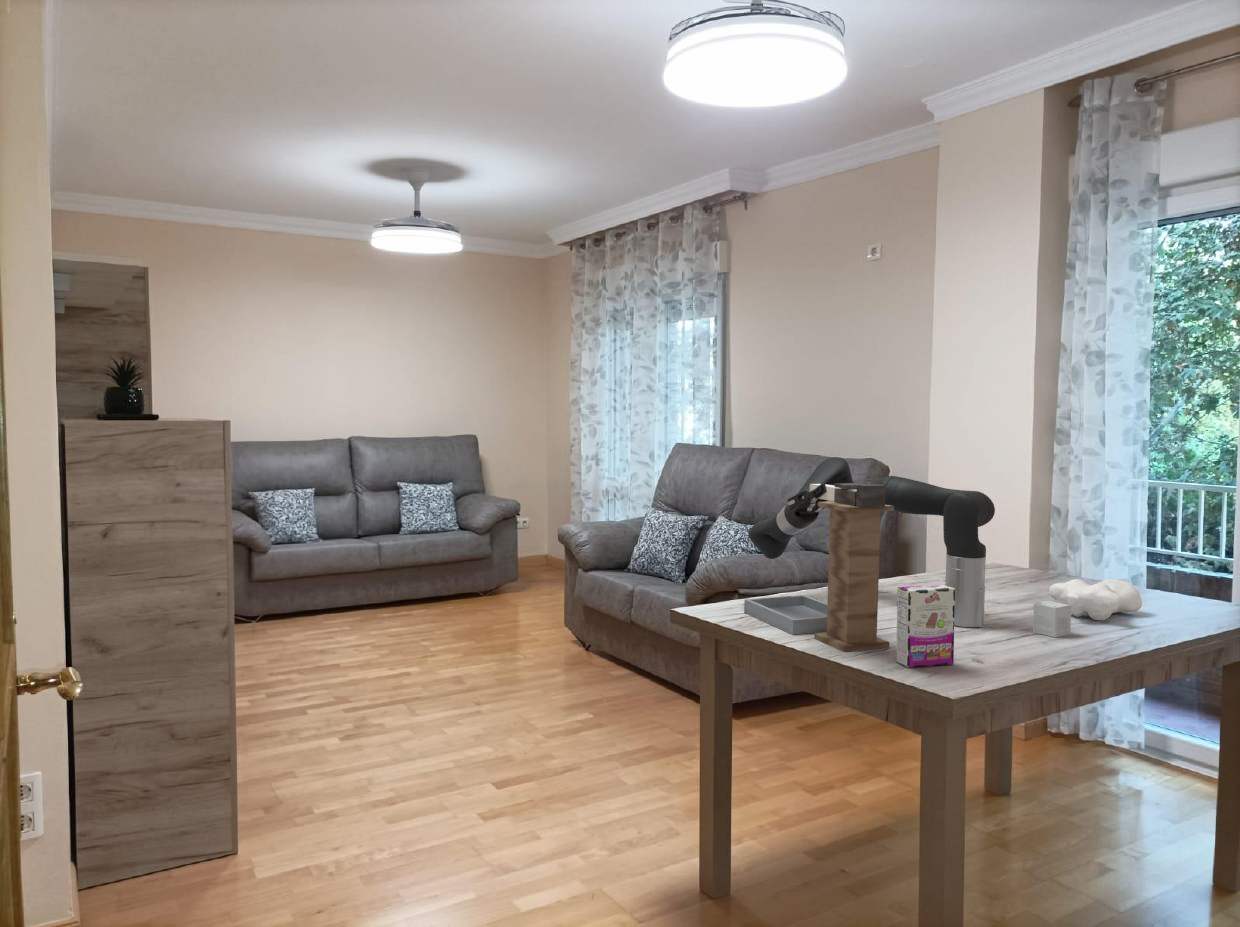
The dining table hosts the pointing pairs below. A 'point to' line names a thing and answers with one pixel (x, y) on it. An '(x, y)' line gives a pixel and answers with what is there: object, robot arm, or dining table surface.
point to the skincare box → (1052, 619)
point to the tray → (790, 613)
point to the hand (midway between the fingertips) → (831, 487)
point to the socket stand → (854, 567)
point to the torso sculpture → (1097, 597)
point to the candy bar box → (925, 625)
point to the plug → (828, 491)
